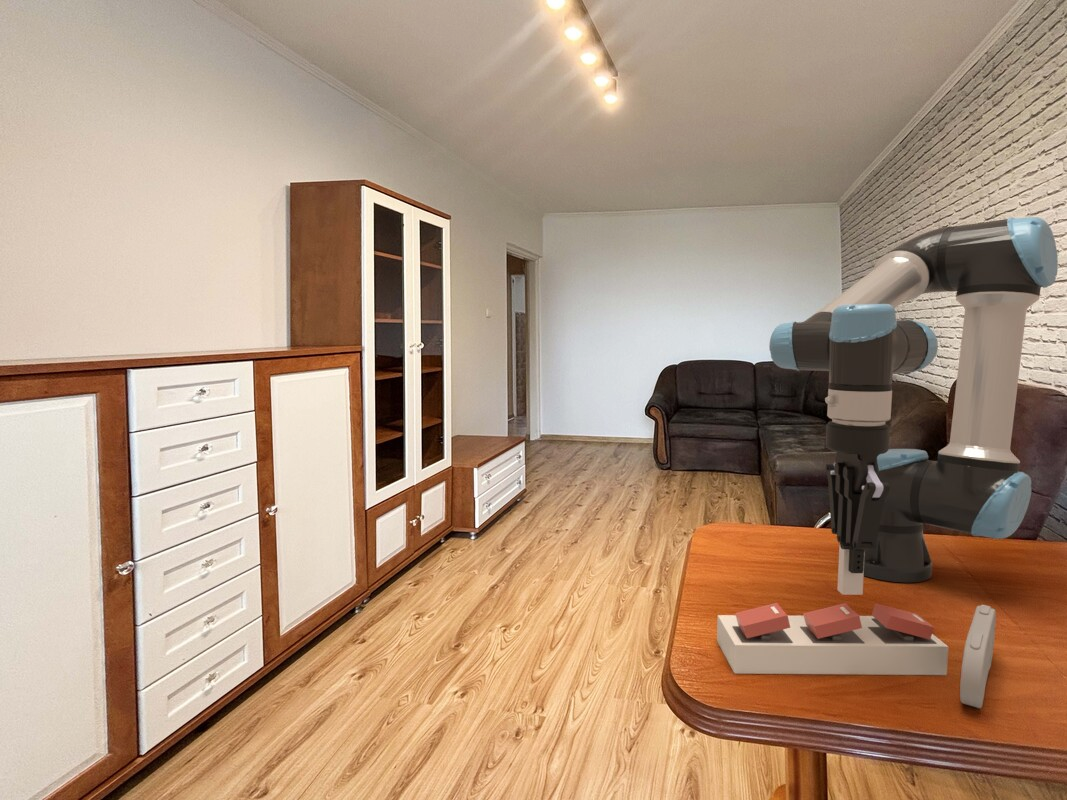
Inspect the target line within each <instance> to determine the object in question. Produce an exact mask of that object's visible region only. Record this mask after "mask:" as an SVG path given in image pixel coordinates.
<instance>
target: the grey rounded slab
mask: <svg viewBox="0 0 1067 800" xmlns="http://www.w3.org/2000/svg"><path fill="white" fill-rule="evenodd" d="M996 611H997V610H995V609H994V608H992V607H991V606H990V605H986V604H980V605H977V606H976V608H975V610H974V614H973V618H972V621H971V624H970V627H969V629H968V633H967V637H966V640H965V644H964V649H963V654H962V663H961V664H962V665H961V669H960V676H959V679H960V686H959V688H960V689H959V697H960V700H959V701H960V702H961V703H962V704H964V705H967V706H970V707H974V708H976V709H982V707H983V703H984V698H985V693H986V692H985V691H986V684H987V682H988V681H987V680H988V675H989V672H990V669H991V667H992V661H993V654H994V648H995V647H994V646H995V645H994V644H995V636H996V635H995V633H996V622H997V621H996V618H997V617H996V615H997V614H996Z"/></svg>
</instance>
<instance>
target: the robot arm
mask: <svg viewBox="0 0 1067 800" xmlns="http://www.w3.org/2000/svg"><path fill="white" fill-rule="evenodd" d="M1057 251H1058V249H1057V245H1056V240H1055V237H1054V233H1053V230H1052V228H1051V227H1050V225H1049V224H1048V222H1047V221H1046V220H1044V219H1043V218H1041V217H1038V216H1029V217H1017V218H1016V217H1008V218H1006V219H998V220H992V221H991V220H990V221H985V222H977V223H971V224H970V223H968V224H962V225H955V226H953V225H952V226H951V225H950V226H944V227H939V228H935V229H932V230H929V231H926V232H924V233H921V234H919V235H916V236H915V237H913V238H911V239H909V240H907V241H904V242H902V243H901V244H899V245H897V246H896V247H894V248H892V249H891V250H890V251H888V252H887V253H885V254H884V255H882V256H881V257H880V258H879V259H878V260H877V261H876V263H875V264H874V266H873V270H872V271H870V272H869V273H867V275H865V276H864V277H862V278H860V280H858V281H856V282H855V283H854V284H853V285H851V286H850V287H849V288H847V289H846V290H844V291H843V292H842V293H840V294H839V295H837V297H835V298H834V299H832V300H830V302H829V303H827V304H826V305H825V306H824V307H822V308H821V309H819V310H818V311H817V312H815V313H814V314H813V315H812V316H810V317H808V318H807V319H806V320H804V321H801V322H800V321H799V322H797V321H791V322H785V323H784V322H783V323H780V324H779V325H777V326H776V327H775V328H774V330H773V331H772V333H771V336H770V338H769V339H770V340H769V352H770V358H771V360H772V362H773V363H774V365H776V366H777V367H778V368H781V369H786V370H795V371H798V372H800V371H817V372H818V371H822V372H824V371H825V372H828V374H829V375H828V391H827V396H826V397H825V398H824V401H825V403H826V404H827V413H826V416H827V417H828V418H829V419H831V420H830V421H828V423H826V427H825V431H826V433H825V446H826V447H825V448H827V450H830V451H832V452H835V453H836V454H835V456H834V463H826V465H825V473H826V477H827V484H828V495H829V496H828V497H829V498H828V499H829V512H830V514H829V515H830V530H831V534H833V535H836V540H837V542H838V544H839V546H838V547H839V548H838V549H839V551H838V569H837V572H838V573H837V589H836V590H837V592H839V593H840V594H841V595H847V596H848V595H849V596H852V595H853V596H854V595H855V596H858V595H860V596H863V595H864V592H863V591H864V577H867V578H872V579H876V580H879V581H880V580H881V581H886V582H894V583H920V582H925V581H928V580H929V579H931V577H932V575H933V562H932V560H931V559H932V558H931V555H930V553H929V549H928V546H927V543H926V540H925V536H924V525H928V526H933V527H938V528H942V529H947V530H952V531H957V532H961V533H967V534H971V535H972V536H974V537H984V538H989V539H990V538H991V539H996V540H997V539H998V540H1001V539H1006V538H1009V537H1011V536H1012V535H1013V534H1014V533H1015V532H1016V531H1017V530H1018V528H1020V525H1021V524H1022V522H1023V520H1024V517H1025V516H1026V514H1027V510H1028V507H1029V504H1030V499H1031V496H1032V478H1031V477H1030V476H1029V474H1026V473H1025V472H1023V471H1020V466H1021V461H1020V459H1019V458H1018V457H1016V455H1014V453H1013V452H1012V451H1011V443H1012V435H1013V429H1014V428H1013V426H1014V418H1015V417H1014V416H1015V412H1016V411H1015V409H1016V402H1017V394H1018V383H1019V376H1020V375H1019V374H1020V368H1021V358H1022V352H1023V351H1022V350H1023V342H1024V333H1025V327H1026V326H1025V325H1026V318H1027V310H1028V309H1029V307H1031V306H1032V305H1034V304H1035V303H1036V302H1038V301H1039V300H1040V296H1041V288H1043V289H1045V288H1048V287H1050V286H1051V287H1052V285H1053V284H1055V282H1056V279H1057V278H1056V277H1057V275H1058V268H1059V267H1058V266H1059V264H1058V252H1057ZM943 292H944V293H945V292H946V293H947V292H949V293H951V292H956V294H955V300H956V301H957V302H958V303H959V304H960V305H961V306H962V307H963V308H964V316H963V324H962V333H961V341H960V349H959V358H958V368H957V375H956V377H957V378H956V383H955V384H956V385H955V391H954V392H955V394H954V402H953V403H954V404H953V413H952V421H951V428H950V438H949V443H948V444H947V445H946V446H945V447H943V448H941V449H940V450H938V452H937V459H936V460H932V459H931V460H929V455H928V452H927V451H926V450H923V449H922V450H921V449H918V448H917V449H916V448H890V434H891V430H890V429H891V427H890V426H889V425H888V424H887V423H886V422H889V421H890V420H891V418H892V416H891V415H892V400H893V376H894V374H895V375H896V374H897V375H900V374H903V375H910V374H912V373H915V372H918V371H919V372H920V371H921V370H923V369H925V368H927V367H928V366H929V365H930V364H931V363H932V362H933V360H935V358H936V356H937V354H938V349H939V342H938V338H937V336H936V334H935V332H934V331H933V329H932V328H931V327H930V326H928V325H926V324H925V323H924V322H923V323H922V322H920V321H914V320H913V319H909V318H908V319H900V320H899V319H898V320H897V319H896V317H897V315H896V308H898V306H900V305H901V304H902V303H903V302H909V301H912V300H914V299H917V298H919V296H921V295H925V294H930V293H943Z"/></svg>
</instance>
